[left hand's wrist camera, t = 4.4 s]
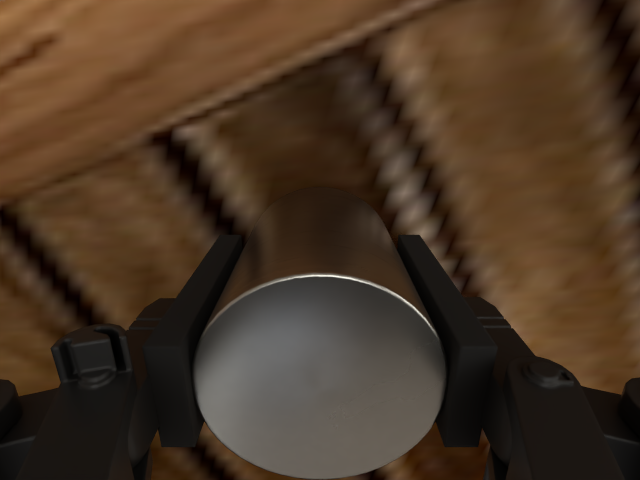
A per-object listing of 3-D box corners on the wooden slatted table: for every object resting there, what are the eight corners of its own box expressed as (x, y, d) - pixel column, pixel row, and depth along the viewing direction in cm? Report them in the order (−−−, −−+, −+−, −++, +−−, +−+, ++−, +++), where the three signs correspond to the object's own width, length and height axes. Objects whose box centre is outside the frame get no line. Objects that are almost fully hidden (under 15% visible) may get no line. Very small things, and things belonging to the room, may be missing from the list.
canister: (301, 156, 14) (282, 218, 7) (420, 240, 15) (503, 364, 8) (222, 271, 16) (145, 414, 9) (335, 339, 17) (346, 511, 10)
